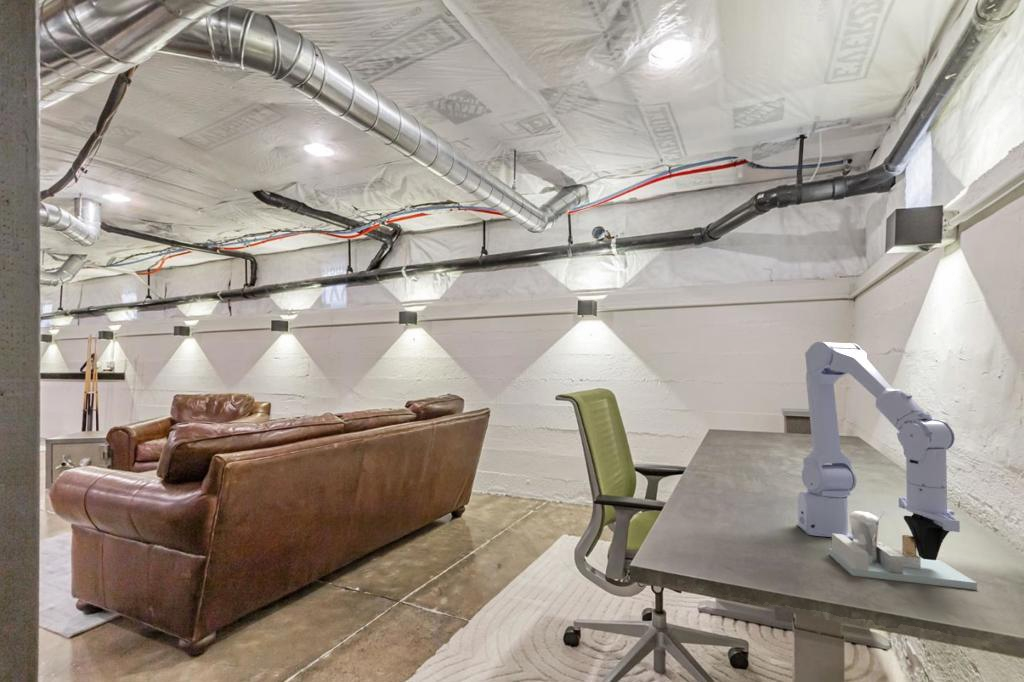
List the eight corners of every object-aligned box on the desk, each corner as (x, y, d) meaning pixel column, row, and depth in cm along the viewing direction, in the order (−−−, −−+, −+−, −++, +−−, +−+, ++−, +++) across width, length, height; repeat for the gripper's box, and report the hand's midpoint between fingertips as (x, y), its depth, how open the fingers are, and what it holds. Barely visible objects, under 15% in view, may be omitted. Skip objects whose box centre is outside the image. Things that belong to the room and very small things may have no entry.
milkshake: (882, 569, 87) (881, 513, 87) (847, 559, 91) (846, 506, 91) (887, 563, 90) (887, 509, 90) (853, 554, 94) (853, 502, 94)
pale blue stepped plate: (852, 575, 87) (852, 551, 87) (829, 554, 96) (829, 533, 96) (976, 589, 82) (976, 564, 82) (939, 566, 92) (939, 543, 92)
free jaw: (890, 572, 85) (889, 543, 86) (862, 551, 95) (862, 525, 95) (932, 577, 84) (932, 547, 84) (900, 555, 93) (900, 528, 94)
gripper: (980, 496, 81) (981, 577, 80) (926, 477, 95) (928, 546, 94) (931, 492, 83) (933, 572, 82) (886, 474, 97) (887, 542, 96)
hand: (927, 558), depth 88 cm, fingers closed, pressing on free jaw
